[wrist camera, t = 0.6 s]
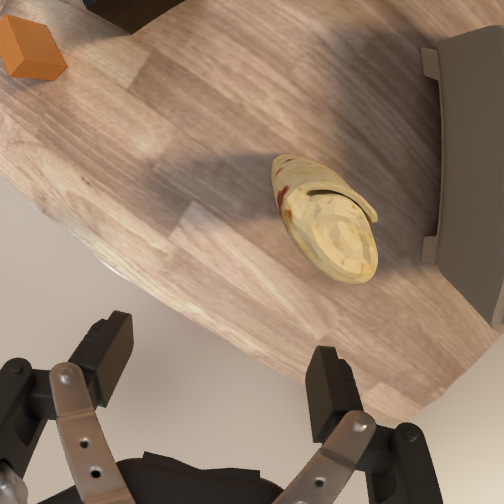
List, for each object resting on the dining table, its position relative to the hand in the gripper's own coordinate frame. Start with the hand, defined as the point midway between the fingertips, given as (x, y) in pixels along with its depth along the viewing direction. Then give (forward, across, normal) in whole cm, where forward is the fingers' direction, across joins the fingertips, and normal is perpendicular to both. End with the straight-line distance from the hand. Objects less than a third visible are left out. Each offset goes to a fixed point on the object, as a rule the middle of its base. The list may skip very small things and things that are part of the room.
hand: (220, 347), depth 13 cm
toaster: (+28, -32, -15) cm, 45 cm away
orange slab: (+28, +32, -18) cm, 47 cm away
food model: (+28, -6, -3) cm, 29 cm away
